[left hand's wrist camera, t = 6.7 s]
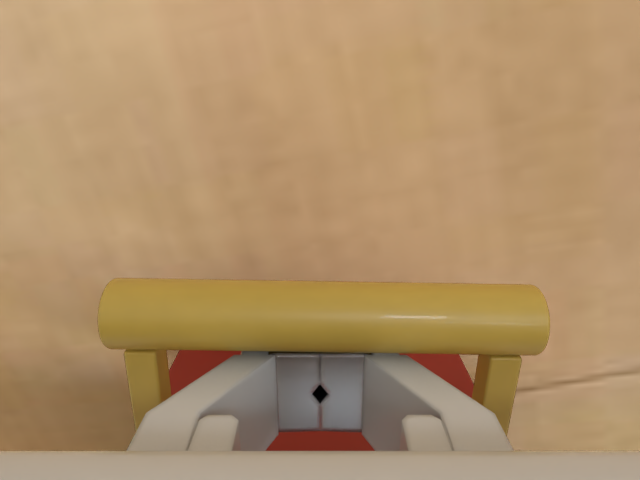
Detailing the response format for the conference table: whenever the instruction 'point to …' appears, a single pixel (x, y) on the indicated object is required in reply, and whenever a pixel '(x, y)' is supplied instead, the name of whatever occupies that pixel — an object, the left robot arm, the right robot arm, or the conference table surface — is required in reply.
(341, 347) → the drawer
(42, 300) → the conference table surface
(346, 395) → the left robot arm
